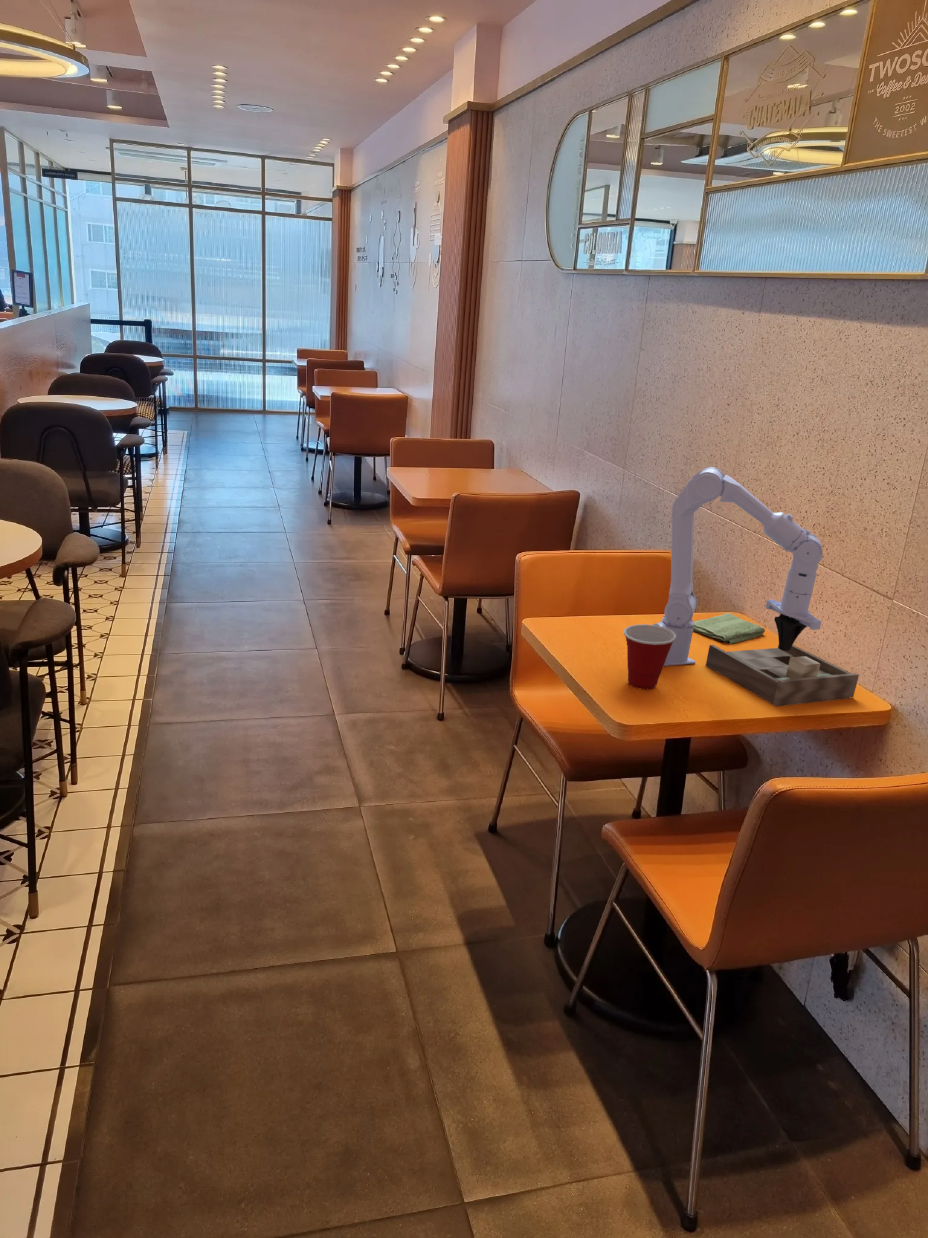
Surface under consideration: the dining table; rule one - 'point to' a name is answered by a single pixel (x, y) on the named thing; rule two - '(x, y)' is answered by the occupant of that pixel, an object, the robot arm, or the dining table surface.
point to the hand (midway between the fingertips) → (784, 649)
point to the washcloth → (728, 628)
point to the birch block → (802, 668)
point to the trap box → (782, 675)
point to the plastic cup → (647, 653)
